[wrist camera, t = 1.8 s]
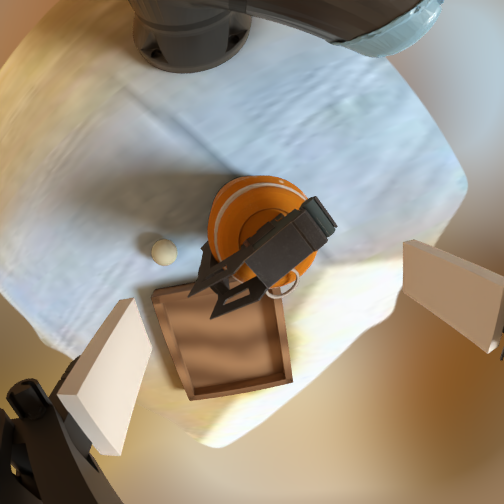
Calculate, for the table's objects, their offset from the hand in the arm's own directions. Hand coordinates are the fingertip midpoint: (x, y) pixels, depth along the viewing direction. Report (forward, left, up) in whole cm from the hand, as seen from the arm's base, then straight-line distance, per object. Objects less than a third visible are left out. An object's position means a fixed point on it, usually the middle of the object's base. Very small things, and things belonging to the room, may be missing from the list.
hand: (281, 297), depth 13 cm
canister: (0, 0, -24) cm, 24 cm away
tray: (+16, -5, -24) cm, 29 cm away
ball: (+2, -10, -24) cm, 26 cm away
